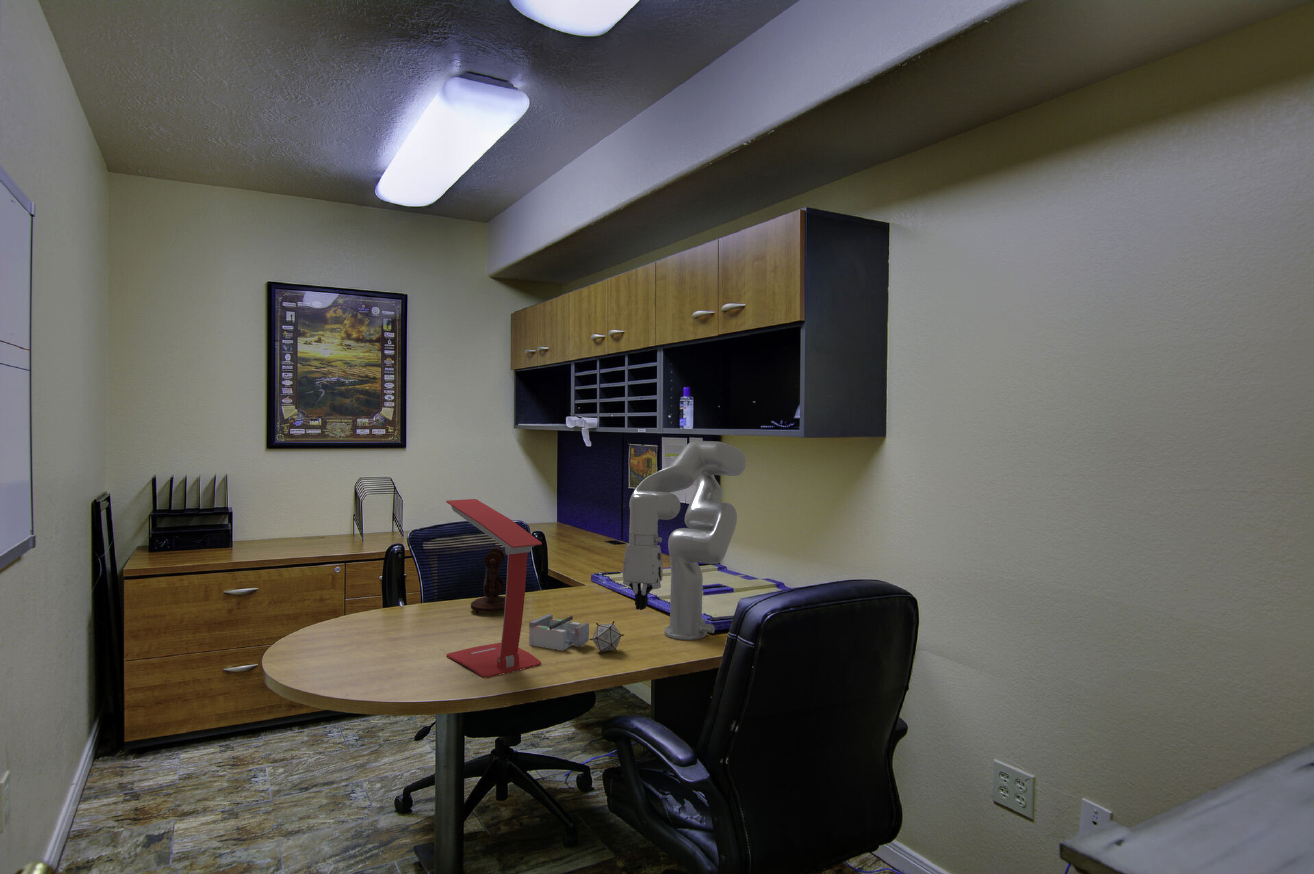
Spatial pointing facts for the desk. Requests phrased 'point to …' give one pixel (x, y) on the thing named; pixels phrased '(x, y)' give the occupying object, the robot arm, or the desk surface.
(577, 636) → the grey channel block
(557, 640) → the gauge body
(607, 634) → the game die
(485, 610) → the brown jointed stand
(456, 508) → the desk lamp
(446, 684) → the desk surface
